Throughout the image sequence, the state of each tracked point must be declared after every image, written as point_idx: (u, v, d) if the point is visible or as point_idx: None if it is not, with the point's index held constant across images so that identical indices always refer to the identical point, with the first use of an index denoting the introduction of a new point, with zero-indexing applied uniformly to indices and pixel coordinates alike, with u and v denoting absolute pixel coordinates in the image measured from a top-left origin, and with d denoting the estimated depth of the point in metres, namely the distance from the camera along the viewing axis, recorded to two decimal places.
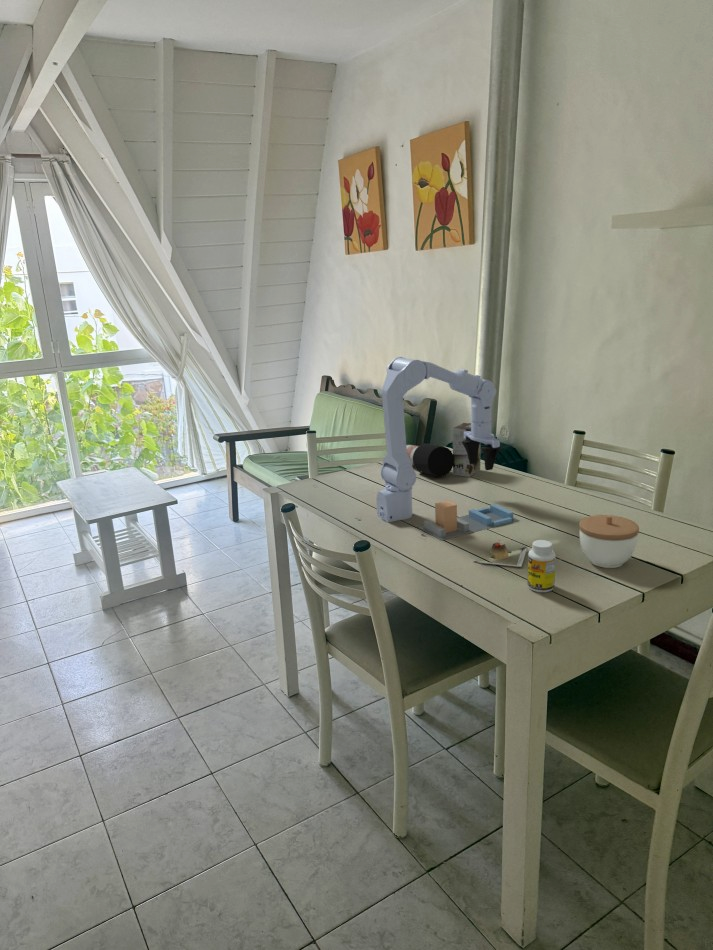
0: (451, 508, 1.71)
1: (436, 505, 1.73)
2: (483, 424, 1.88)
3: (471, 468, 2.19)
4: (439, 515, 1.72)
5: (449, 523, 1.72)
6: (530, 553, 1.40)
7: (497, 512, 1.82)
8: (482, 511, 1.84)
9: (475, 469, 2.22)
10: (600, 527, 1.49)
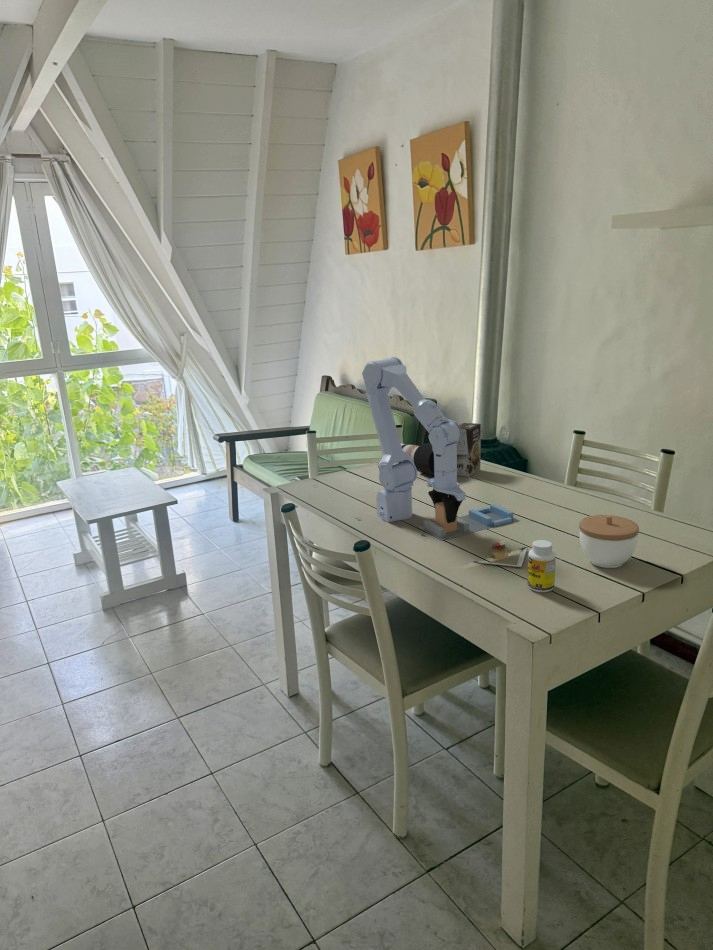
0: None
1: (436, 505, 1.73)
2: (447, 474, 1.67)
3: (471, 468, 2.19)
4: (439, 515, 1.72)
5: (449, 523, 1.72)
6: (530, 553, 1.40)
7: (497, 512, 1.82)
8: (482, 511, 1.84)
9: (475, 469, 2.22)
10: (600, 527, 1.49)
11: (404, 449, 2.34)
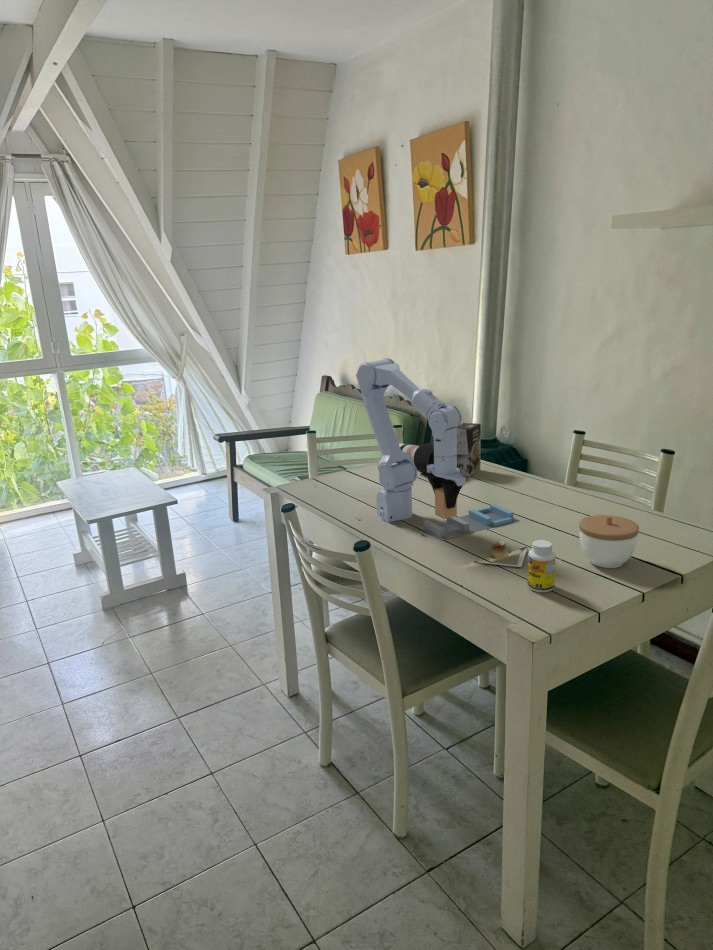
0: None
1: (436, 491, 1.72)
2: (447, 459, 1.66)
3: (471, 468, 2.19)
4: (439, 501, 1.71)
5: (449, 509, 1.71)
6: (530, 553, 1.40)
7: (497, 512, 1.82)
8: (482, 511, 1.84)
9: (475, 469, 2.22)
10: (600, 527, 1.49)
11: (404, 449, 2.35)
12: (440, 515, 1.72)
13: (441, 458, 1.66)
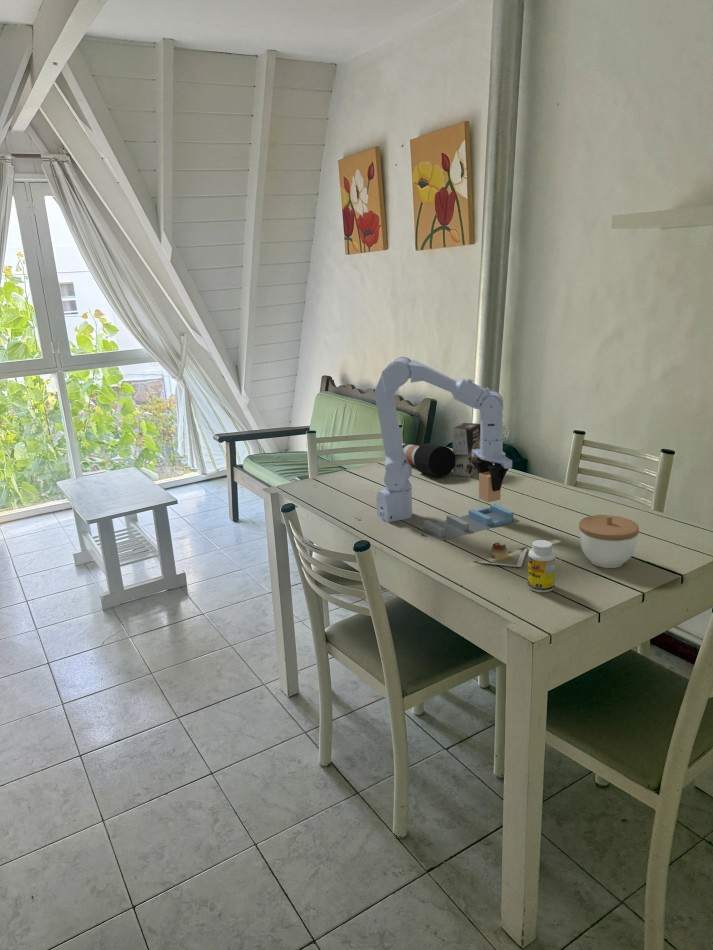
0: None
1: (480, 475, 1.77)
2: (494, 442, 1.71)
3: (471, 468, 2.19)
4: (483, 484, 1.76)
5: (493, 493, 1.76)
6: (530, 553, 1.40)
7: (497, 512, 1.82)
8: (482, 511, 1.84)
9: (475, 469, 2.22)
10: (600, 527, 1.49)
11: (405, 449, 2.35)
12: (484, 498, 1.77)
13: (488, 442, 1.72)
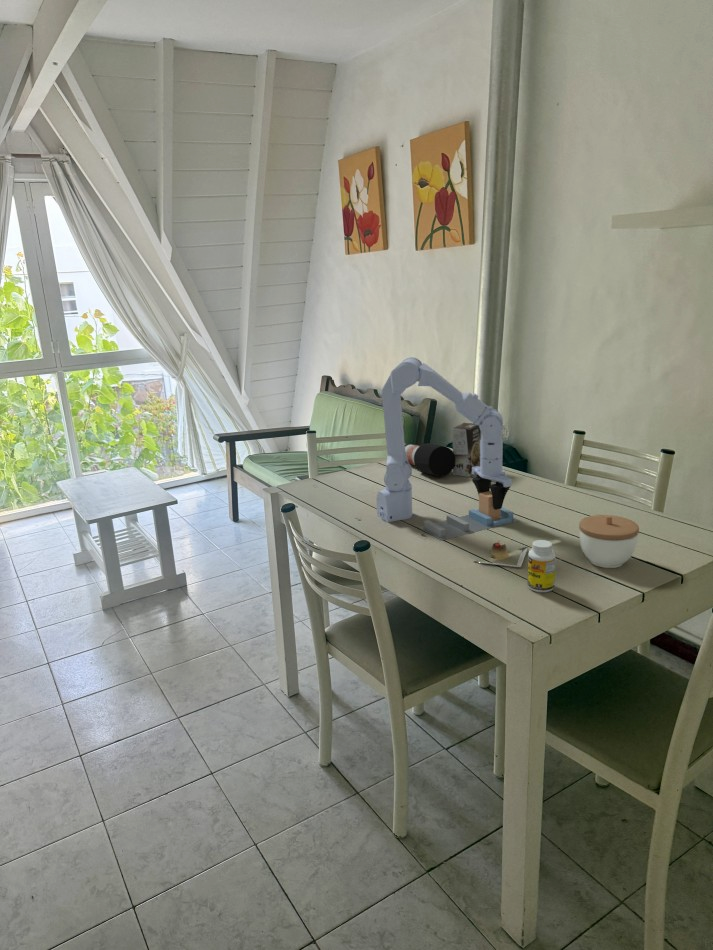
0: None
1: (480, 495, 1.79)
2: (493, 461, 1.73)
3: (471, 468, 2.19)
4: (483, 504, 1.78)
5: (493, 513, 1.78)
6: (530, 553, 1.40)
7: None
8: None
9: None
10: (600, 527, 1.49)
11: (405, 449, 2.35)
12: None
13: (488, 460, 1.73)
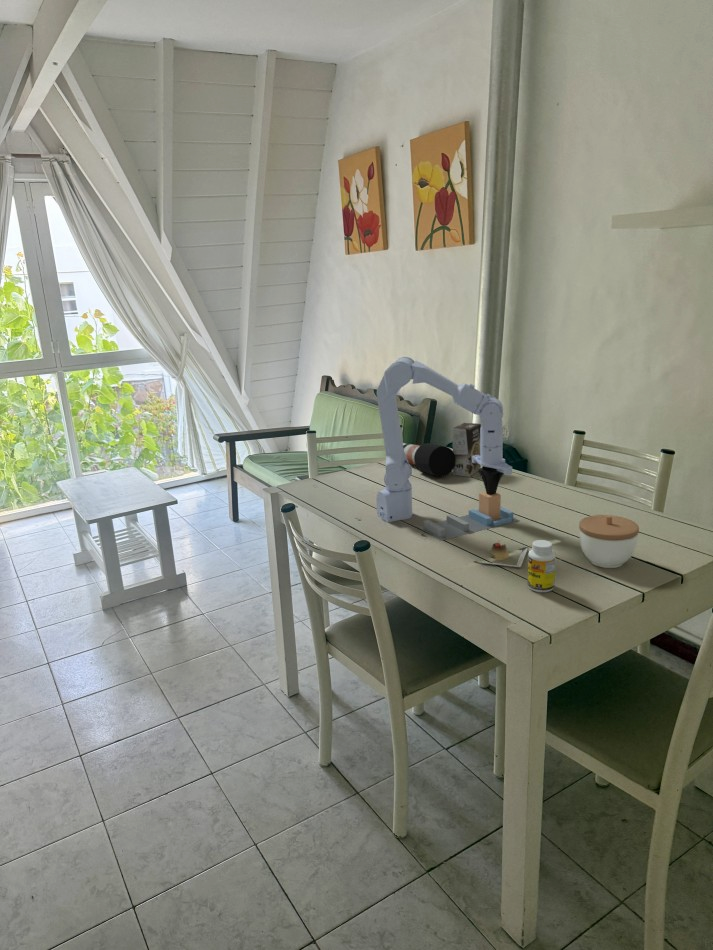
0: (496, 498, 1.77)
1: (480, 495, 1.79)
2: (494, 449, 1.72)
3: (471, 468, 2.19)
4: (483, 504, 1.78)
5: (493, 513, 1.78)
6: (530, 553, 1.40)
7: None
8: None
9: (475, 469, 2.22)
10: (600, 527, 1.49)
11: (405, 449, 2.35)
12: None
13: (488, 448, 1.72)
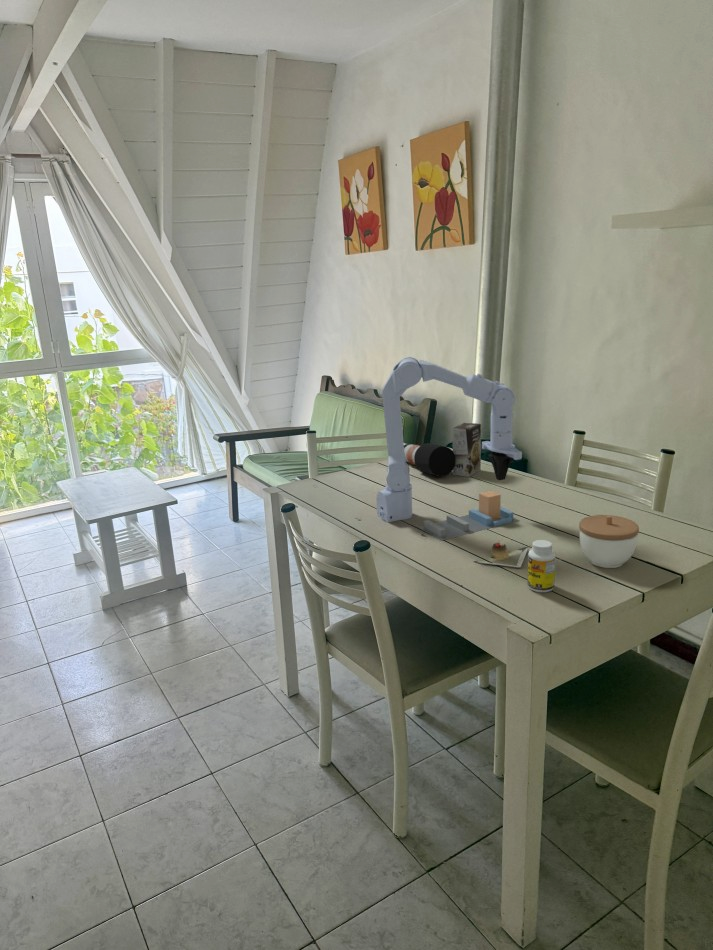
0: (495, 498, 1.77)
1: (480, 495, 1.79)
2: (504, 434, 1.75)
3: (471, 468, 2.19)
4: (483, 504, 1.78)
5: (493, 513, 1.78)
6: (530, 553, 1.40)
7: None
8: None
9: (475, 469, 2.22)
10: (600, 527, 1.49)
11: (406, 449, 2.35)
12: None
13: (498, 434, 1.75)
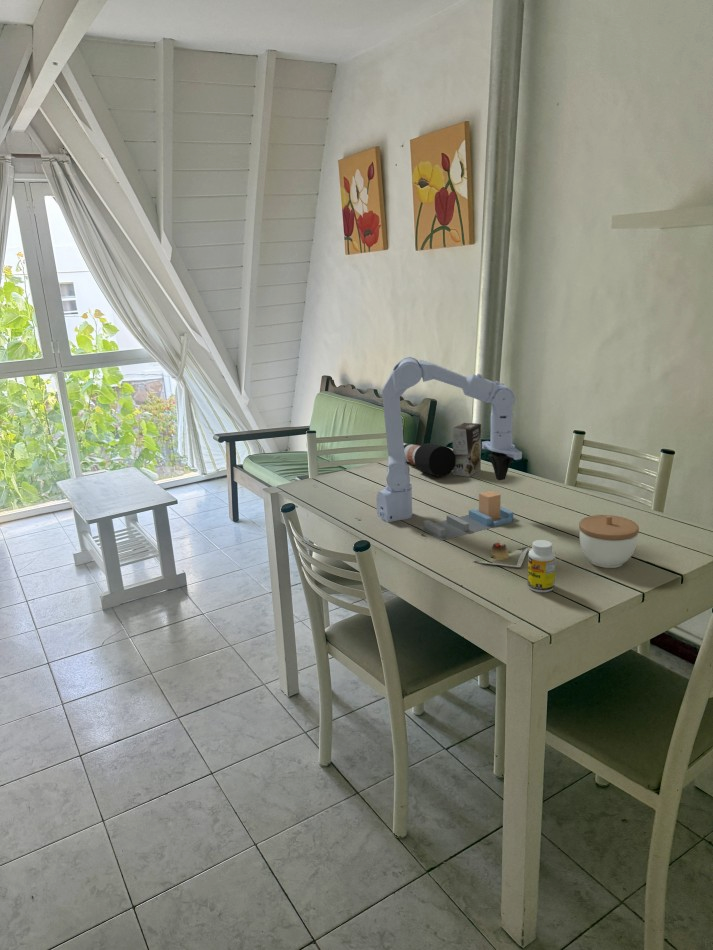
0: (495, 498, 1.77)
1: (480, 495, 1.79)
2: (504, 434, 1.75)
3: (471, 468, 2.19)
4: (483, 504, 1.78)
5: (493, 513, 1.78)
6: (530, 553, 1.40)
7: None
8: None
9: (475, 469, 2.22)
10: (600, 527, 1.49)
11: (406, 449, 2.35)
12: None
13: (498, 434, 1.75)
